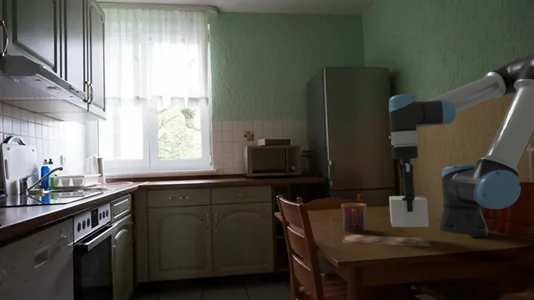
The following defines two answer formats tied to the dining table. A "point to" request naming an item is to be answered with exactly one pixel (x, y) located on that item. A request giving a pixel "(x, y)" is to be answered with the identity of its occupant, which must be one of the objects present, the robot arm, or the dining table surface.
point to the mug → (354, 217)
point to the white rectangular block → (399, 212)
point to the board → (385, 240)
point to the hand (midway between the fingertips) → (408, 219)
